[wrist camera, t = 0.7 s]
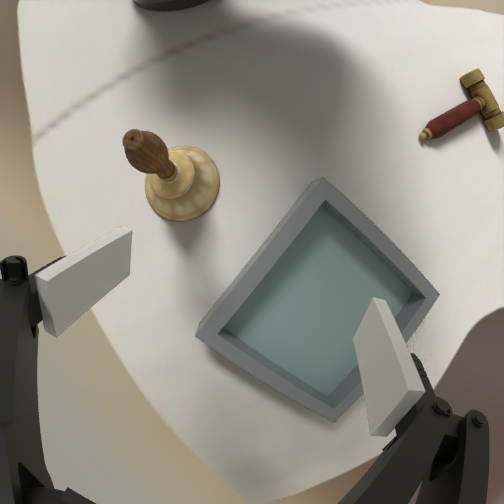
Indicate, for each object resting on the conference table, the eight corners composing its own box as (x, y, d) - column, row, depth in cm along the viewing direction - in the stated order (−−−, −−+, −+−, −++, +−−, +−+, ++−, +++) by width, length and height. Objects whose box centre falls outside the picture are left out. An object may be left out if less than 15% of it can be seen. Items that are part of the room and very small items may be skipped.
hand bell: (138, 160, 30) (65, 111, 14) (209, 137, 30) (187, 62, 14) (155, 230, 30) (84, 236, 15) (228, 208, 31) (220, 191, 15)
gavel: (447, 169, 29) (408, 99, 28) (429, 173, 33) (393, 110, 32) (512, 120, 27) (482, 66, 26) (495, 125, 32) (467, 74, 31)
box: (312, 182, 31) (322, 176, 27) (422, 287, 33) (439, 294, 29) (199, 323, 32) (194, 336, 28) (325, 405, 34) (334, 422, 30)
